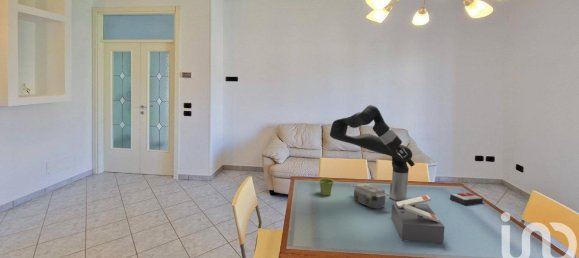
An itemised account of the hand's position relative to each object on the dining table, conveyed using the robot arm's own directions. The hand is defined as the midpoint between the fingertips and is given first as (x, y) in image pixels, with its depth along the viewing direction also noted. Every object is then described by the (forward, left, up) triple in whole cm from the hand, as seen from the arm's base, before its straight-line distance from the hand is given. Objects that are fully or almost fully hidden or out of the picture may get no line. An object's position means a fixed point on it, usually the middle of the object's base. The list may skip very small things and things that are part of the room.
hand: (411, 163), depth 172 cm
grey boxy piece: (-28, +9, -31) cm, 43 cm away
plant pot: (-55, +2, -31) cm, 63 cm away
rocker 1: (+2, +1, -19) cm, 20 cm away
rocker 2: (+11, -11, -19) cm, 25 cm away
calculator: (+10, +57, -31) cm, 66 cm away
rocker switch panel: (+7, -5, -31) cm, 32 cm away
